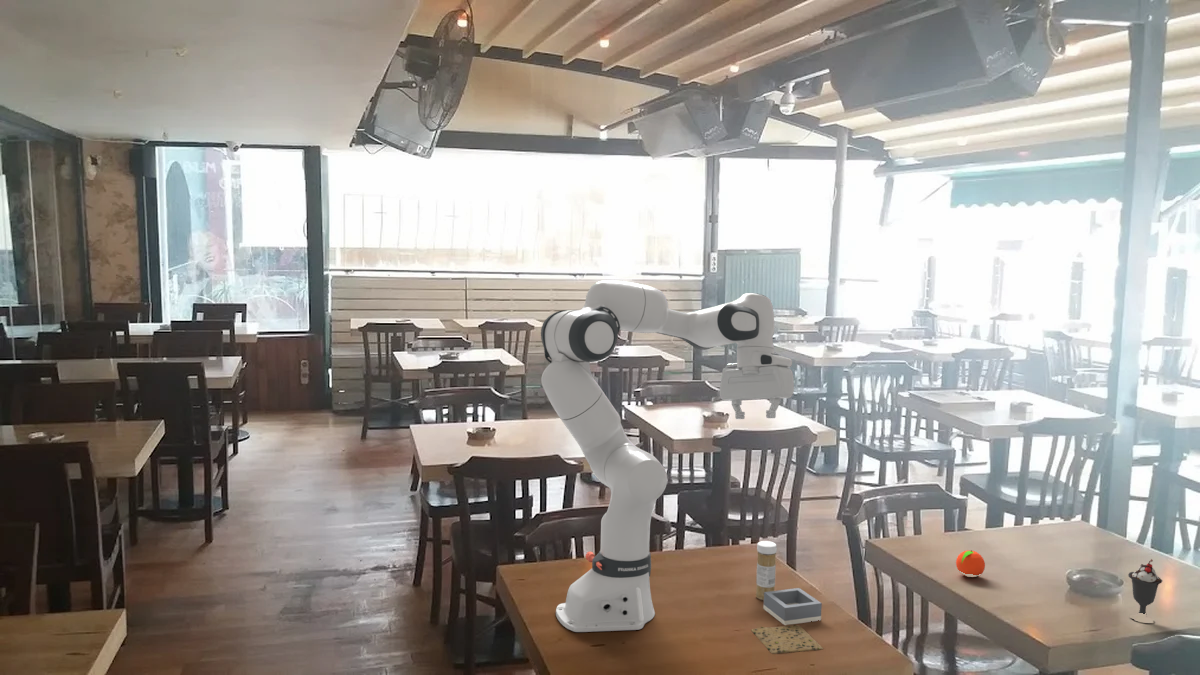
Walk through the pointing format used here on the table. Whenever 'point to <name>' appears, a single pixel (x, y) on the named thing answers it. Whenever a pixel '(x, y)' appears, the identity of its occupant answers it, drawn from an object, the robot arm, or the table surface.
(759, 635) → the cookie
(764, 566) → the sprinkles bottle
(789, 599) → the block
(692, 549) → the table surface
